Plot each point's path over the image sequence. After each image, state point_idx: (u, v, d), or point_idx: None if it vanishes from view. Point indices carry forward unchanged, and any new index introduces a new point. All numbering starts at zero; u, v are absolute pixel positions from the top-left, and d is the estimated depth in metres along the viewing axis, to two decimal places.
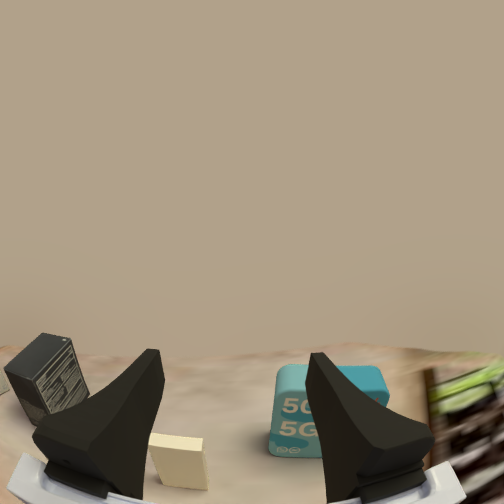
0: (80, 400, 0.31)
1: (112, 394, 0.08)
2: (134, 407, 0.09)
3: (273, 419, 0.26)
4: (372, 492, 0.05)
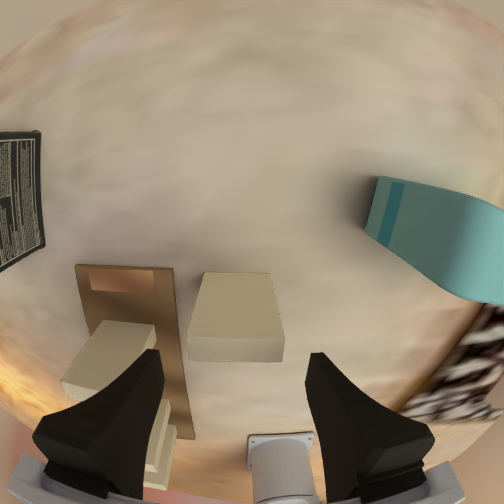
0: (32, 167, 0.17)
1: (112, 394, 0.08)
2: (134, 407, 0.09)
3: (407, 262, 0.14)
4: (372, 492, 0.05)
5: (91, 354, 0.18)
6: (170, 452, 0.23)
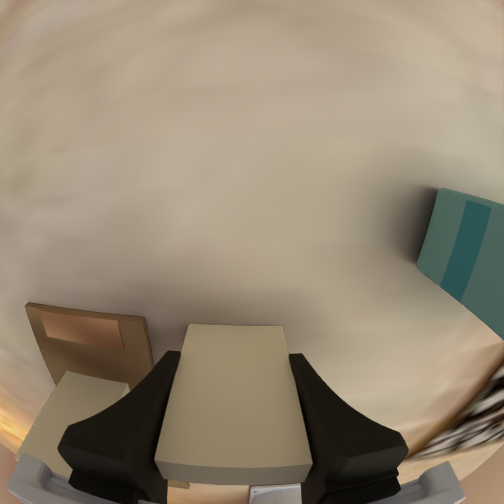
0: None
1: (138, 399, 0.08)
2: (160, 411, 0.09)
3: (493, 330, 0.07)
4: (340, 500, 0.05)
5: (49, 424, 0.11)
6: None
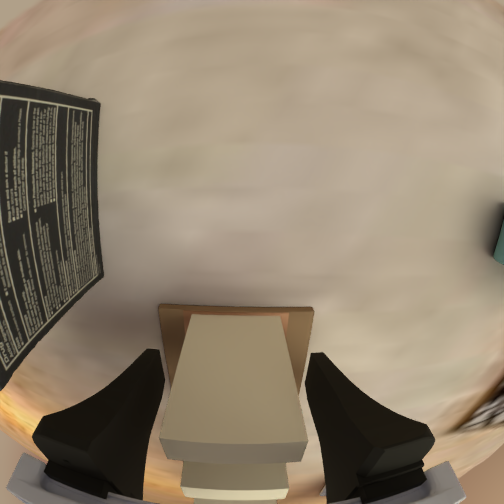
0: (88, 155, 0.12)
1: (112, 394, 0.08)
2: (134, 407, 0.09)
3: None
4: (372, 492, 0.05)
5: None
6: None
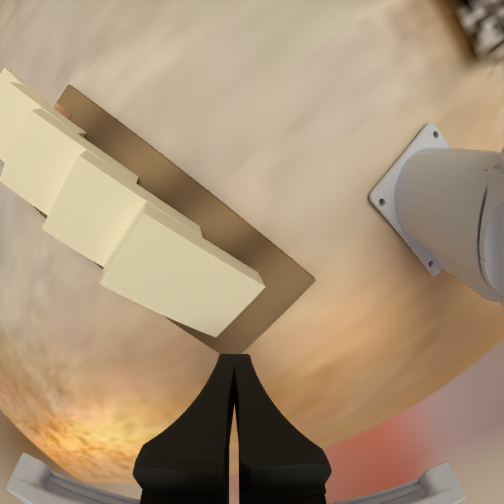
0: None
1: (209, 406, 0.08)
2: None
3: None
4: None
5: None
6: (212, 246, 0.16)
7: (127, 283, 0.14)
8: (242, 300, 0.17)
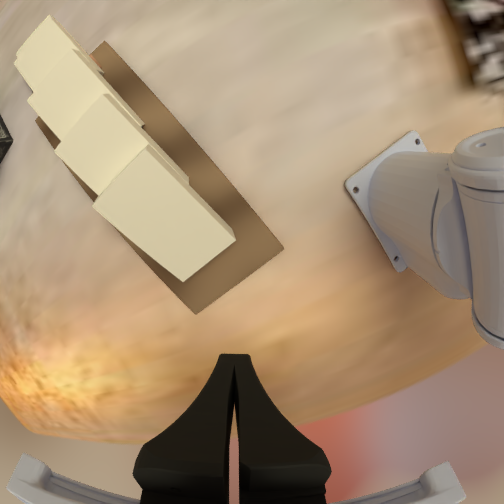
0: None
1: (209, 406, 0.08)
2: None
3: None
4: None
5: None
6: (196, 194, 0.18)
7: (116, 210, 0.16)
8: (213, 248, 0.19)
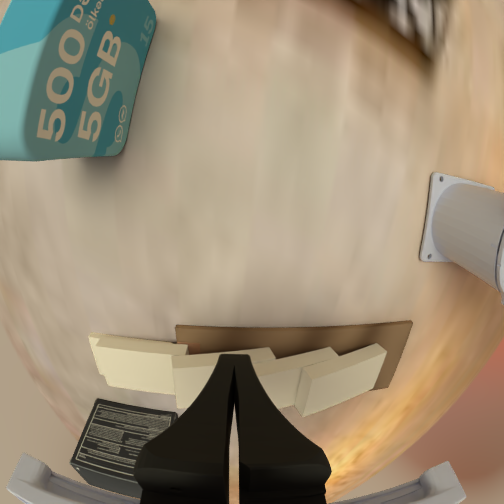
0: (115, 409, 0.26)
1: (209, 406, 0.08)
2: None
3: (72, 155, 0.12)
4: None
5: None
6: (348, 356, 0.23)
7: (317, 406, 0.22)
8: (378, 365, 0.23)
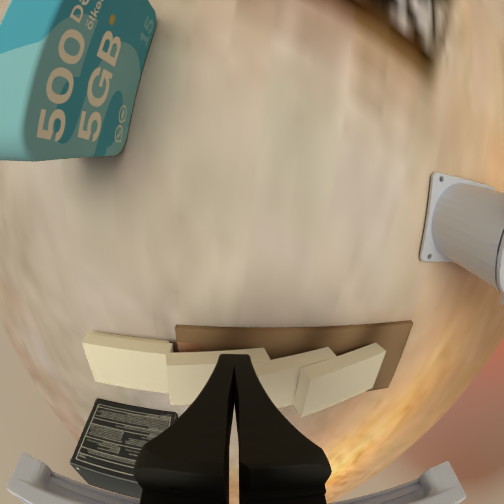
0: (115, 409, 0.26)
1: (209, 406, 0.08)
2: None
3: (72, 155, 0.12)
4: None
5: None
6: (347, 355, 0.23)
7: (316, 406, 0.22)
8: (377, 365, 0.23)
